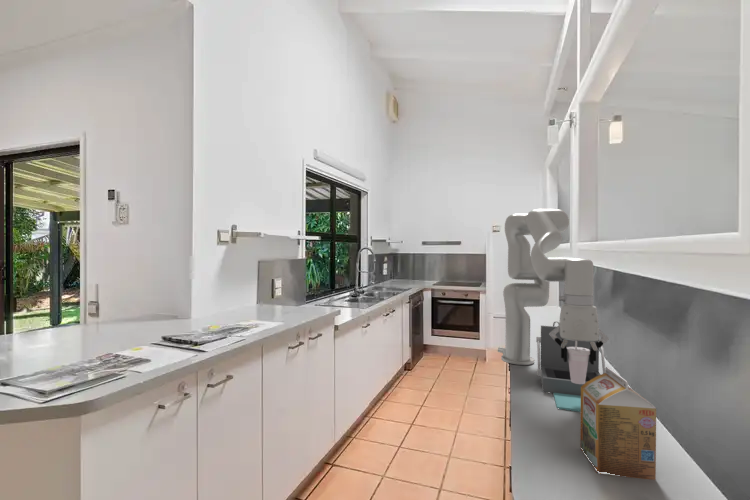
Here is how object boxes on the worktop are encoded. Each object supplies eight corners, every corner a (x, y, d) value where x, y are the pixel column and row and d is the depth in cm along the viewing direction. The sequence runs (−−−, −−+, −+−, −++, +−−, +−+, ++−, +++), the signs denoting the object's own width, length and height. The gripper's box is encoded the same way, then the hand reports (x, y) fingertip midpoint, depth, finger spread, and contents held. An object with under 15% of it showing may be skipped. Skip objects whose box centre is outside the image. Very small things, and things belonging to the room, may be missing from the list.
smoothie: (563, 377, 121) (563, 331, 121) (586, 379, 119) (586, 332, 119) (569, 384, 114) (569, 336, 114) (593, 386, 113) (593, 337, 113)
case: (538, 391, 127) (538, 333, 127) (536, 377, 142) (536, 325, 142) (612, 400, 120) (613, 339, 120) (602, 384, 135) (602, 329, 135)
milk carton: (655, 479, 79) (656, 383, 79) (597, 474, 80) (598, 380, 80) (631, 453, 89) (631, 367, 89) (580, 448, 91) (581, 365, 91)
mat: (557, 408, 113) (557, 406, 113) (553, 394, 125) (553, 392, 125) (605, 415, 109) (605, 412, 109) (596, 399, 121) (596, 397, 121)
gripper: (547, 300, 116) (546, 362, 116) (615, 304, 111) (614, 368, 111) (545, 298, 123) (545, 356, 123) (609, 300, 118) (608, 361, 118)
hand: (578, 361), depth 117 cm, fingers closed on smoothie, 6 cm apart
